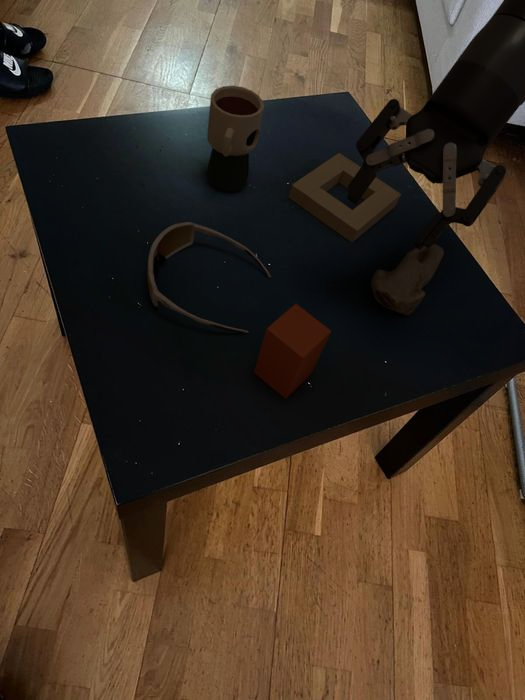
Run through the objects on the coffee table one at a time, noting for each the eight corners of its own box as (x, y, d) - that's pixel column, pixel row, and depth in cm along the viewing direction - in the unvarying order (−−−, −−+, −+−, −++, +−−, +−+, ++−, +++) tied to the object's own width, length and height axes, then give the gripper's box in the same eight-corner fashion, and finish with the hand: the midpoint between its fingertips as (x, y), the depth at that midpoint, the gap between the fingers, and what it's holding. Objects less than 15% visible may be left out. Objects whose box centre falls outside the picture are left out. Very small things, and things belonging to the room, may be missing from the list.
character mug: (242, 210, 78) (256, 131, 67) (195, 198, 78) (201, 117, 67) (255, 164, 84) (270, 85, 74) (211, 152, 84) (219, 72, 73)
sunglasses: (170, 229, 73) (176, 203, 69) (270, 276, 75) (281, 253, 71) (124, 305, 65) (128, 280, 61) (238, 355, 67) (249, 334, 63)
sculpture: (400, 248, 80) (353, 300, 72) (415, 224, 77) (368, 276, 68) (440, 275, 79) (398, 332, 70) (457, 252, 75) (415, 310, 67)
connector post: (311, 373, 65) (331, 330, 57) (285, 399, 62) (303, 358, 55) (280, 348, 66) (295, 303, 58) (253, 372, 63) (266, 328, 56)
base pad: (395, 206, 84) (401, 194, 82) (352, 243, 78) (357, 230, 76) (334, 165, 87) (339, 152, 85) (288, 197, 81) (291, 184, 79)
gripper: (425, 28, 50) (321, 177, 54) (560, 104, 47) (439, 258, 50) (429, 66, 57) (337, 195, 61) (546, 135, 54) (441, 268, 57)
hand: (383, 224), depth 56 cm, fingers open, 8 cm apart
